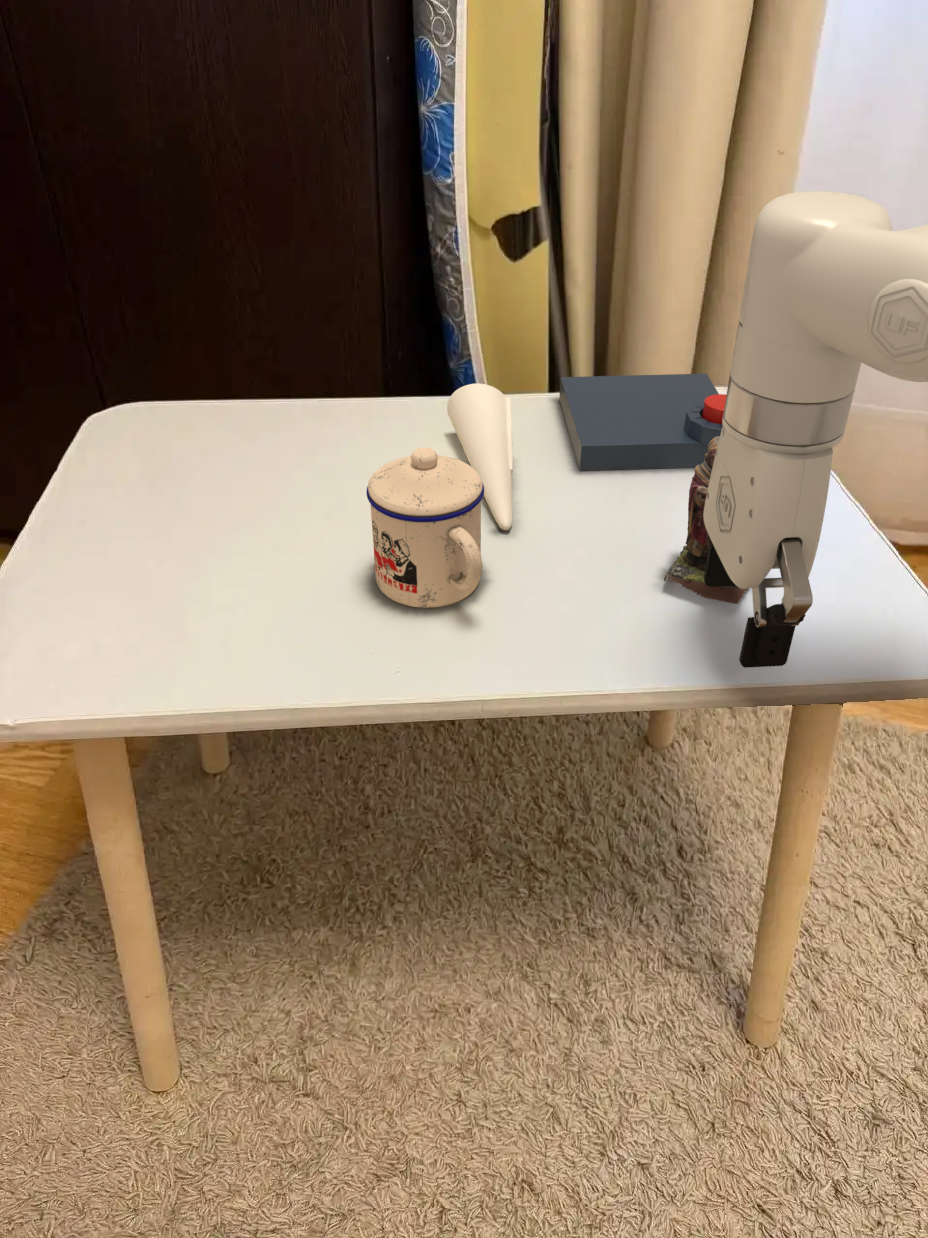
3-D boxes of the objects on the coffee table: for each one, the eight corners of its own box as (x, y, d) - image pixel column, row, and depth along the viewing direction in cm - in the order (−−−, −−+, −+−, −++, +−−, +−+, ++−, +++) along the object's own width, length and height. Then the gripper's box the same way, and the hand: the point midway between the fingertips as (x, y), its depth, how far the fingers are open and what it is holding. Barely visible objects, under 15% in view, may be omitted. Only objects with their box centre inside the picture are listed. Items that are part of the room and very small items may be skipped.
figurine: (682, 556, 84) (695, 420, 78) (759, 570, 82) (778, 431, 76) (658, 588, 80) (669, 446, 74) (739, 605, 77) (757, 459, 71)
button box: (712, 396, 109) (718, 357, 107) (756, 471, 96) (764, 428, 93) (559, 400, 109) (561, 360, 106) (581, 476, 95) (584, 433, 92)
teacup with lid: (353, 569, 83) (342, 443, 76) (446, 537, 87) (444, 415, 80) (426, 645, 75) (421, 512, 68) (525, 606, 78) (530, 477, 71)
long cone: (439, 548, 88) (444, 429, 102) (510, 554, 89) (506, 434, 103) (444, 496, 84) (449, 380, 98) (518, 502, 85) (513, 386, 99)
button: (734, 409, 97) (737, 393, 96) (744, 426, 94) (747, 409, 93) (698, 410, 97) (700, 394, 96) (707, 427, 94) (709, 410, 93)
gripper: (693, 354, 69) (665, 558, 79) (769, 475, 55) (723, 703, 66) (799, 351, 69) (757, 555, 80) (901, 470, 56) (834, 698, 66)
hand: (742, 621), depth 73 cm, fingers open, 9 cm apart
